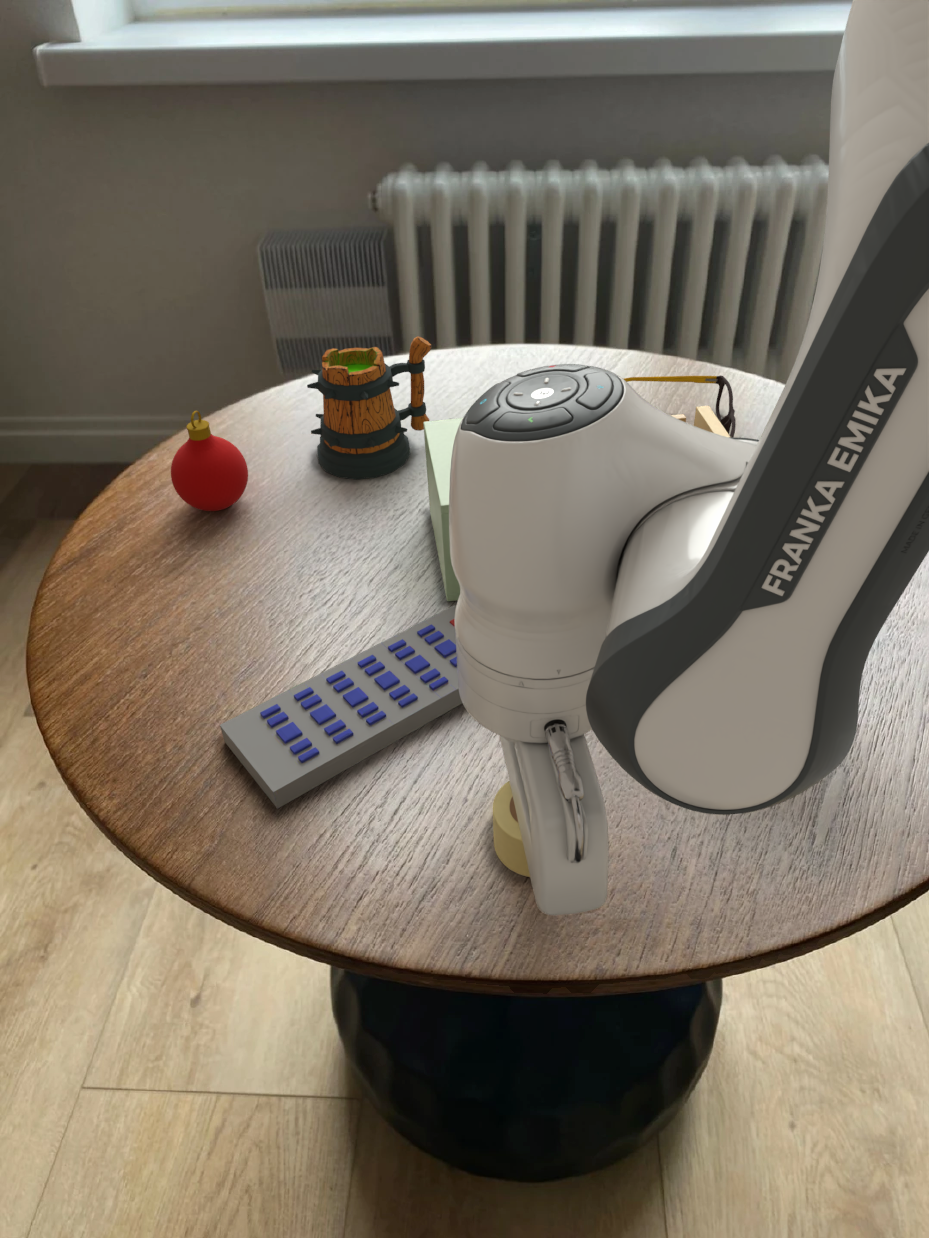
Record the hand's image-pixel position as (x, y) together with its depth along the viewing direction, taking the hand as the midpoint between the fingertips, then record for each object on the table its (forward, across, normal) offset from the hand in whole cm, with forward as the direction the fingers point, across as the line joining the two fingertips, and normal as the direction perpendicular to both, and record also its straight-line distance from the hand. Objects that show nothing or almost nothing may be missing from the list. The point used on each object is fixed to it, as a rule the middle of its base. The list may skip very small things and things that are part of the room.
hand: (536, 823), depth 61 cm
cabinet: (+2, +32, -5) cm, 32 cm away
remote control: (+2, +14, +9) cm, 17 cm away
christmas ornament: (+2, +44, +23) cm, 50 cm away
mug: (+2, +51, +7) cm, 52 cm away
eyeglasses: (+2, +48, -22) cm, 53 cm away
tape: (+2, 0, 0) cm, 2 cm away
